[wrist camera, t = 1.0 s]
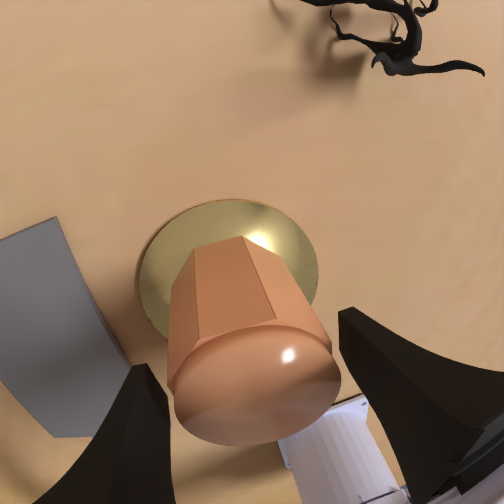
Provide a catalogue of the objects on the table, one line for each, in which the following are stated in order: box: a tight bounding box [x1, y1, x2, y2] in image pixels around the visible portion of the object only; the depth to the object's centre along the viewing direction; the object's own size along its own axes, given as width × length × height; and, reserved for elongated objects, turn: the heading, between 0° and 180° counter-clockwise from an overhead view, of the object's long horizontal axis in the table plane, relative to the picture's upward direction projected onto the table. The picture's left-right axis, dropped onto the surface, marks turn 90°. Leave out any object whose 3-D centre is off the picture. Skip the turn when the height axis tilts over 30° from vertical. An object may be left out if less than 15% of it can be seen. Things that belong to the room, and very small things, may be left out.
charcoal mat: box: [0, 216, 171, 438], centre depth 15 cm, size 16×11×1 cm
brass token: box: [139, 199, 318, 340], centre depth 15 cm, size 9×9×1 cm
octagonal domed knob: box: [167, 236, 341, 446], centre depth 12 cm, size 5×5×7 cm
